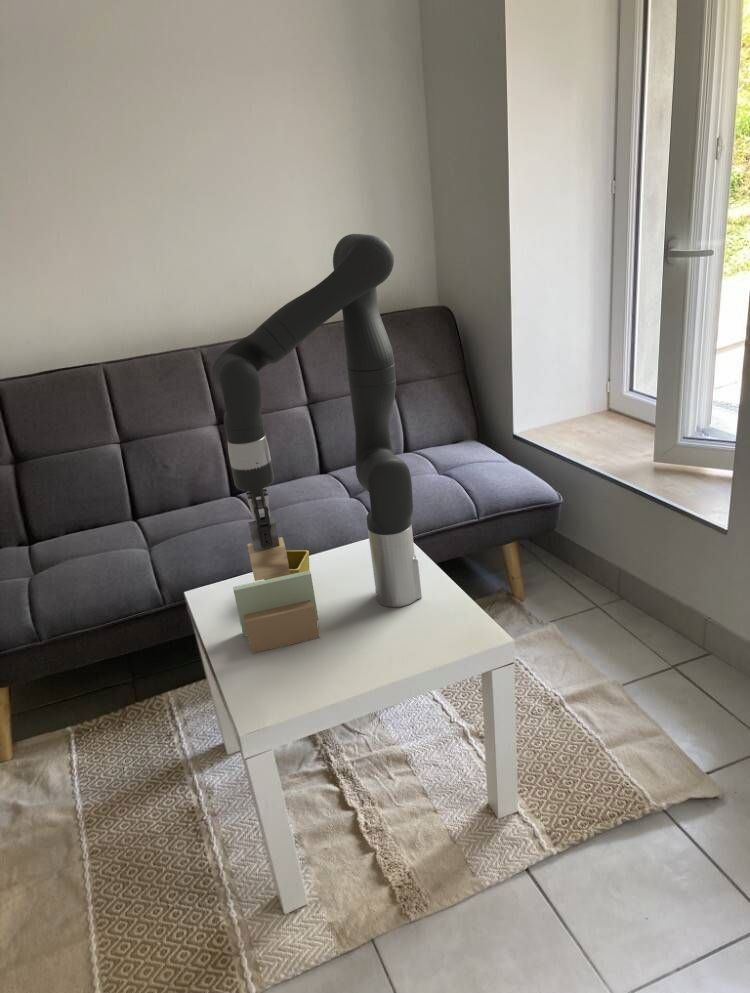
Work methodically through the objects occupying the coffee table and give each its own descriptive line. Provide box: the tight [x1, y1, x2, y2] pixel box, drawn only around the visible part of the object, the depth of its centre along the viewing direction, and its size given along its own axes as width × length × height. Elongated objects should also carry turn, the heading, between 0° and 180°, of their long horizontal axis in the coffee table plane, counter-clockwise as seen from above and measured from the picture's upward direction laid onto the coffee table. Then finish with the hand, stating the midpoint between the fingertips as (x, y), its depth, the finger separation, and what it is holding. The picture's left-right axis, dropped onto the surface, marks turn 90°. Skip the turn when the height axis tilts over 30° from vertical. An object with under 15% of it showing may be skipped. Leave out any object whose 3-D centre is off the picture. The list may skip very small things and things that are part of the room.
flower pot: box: [263, 549, 310, 580], centre depth 176 cm, size 9×9×9 cm
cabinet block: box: [247, 516, 290, 582], centre depth 154 cm, size 7×5×11 cm, turn 104°
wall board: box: [232, 569, 320, 654], centre depth 161 cm, size 16×9×11 cm, turn 104°
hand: (266, 542), depth 154 cm, fingers closed on cabinet block, 2 cm apart
